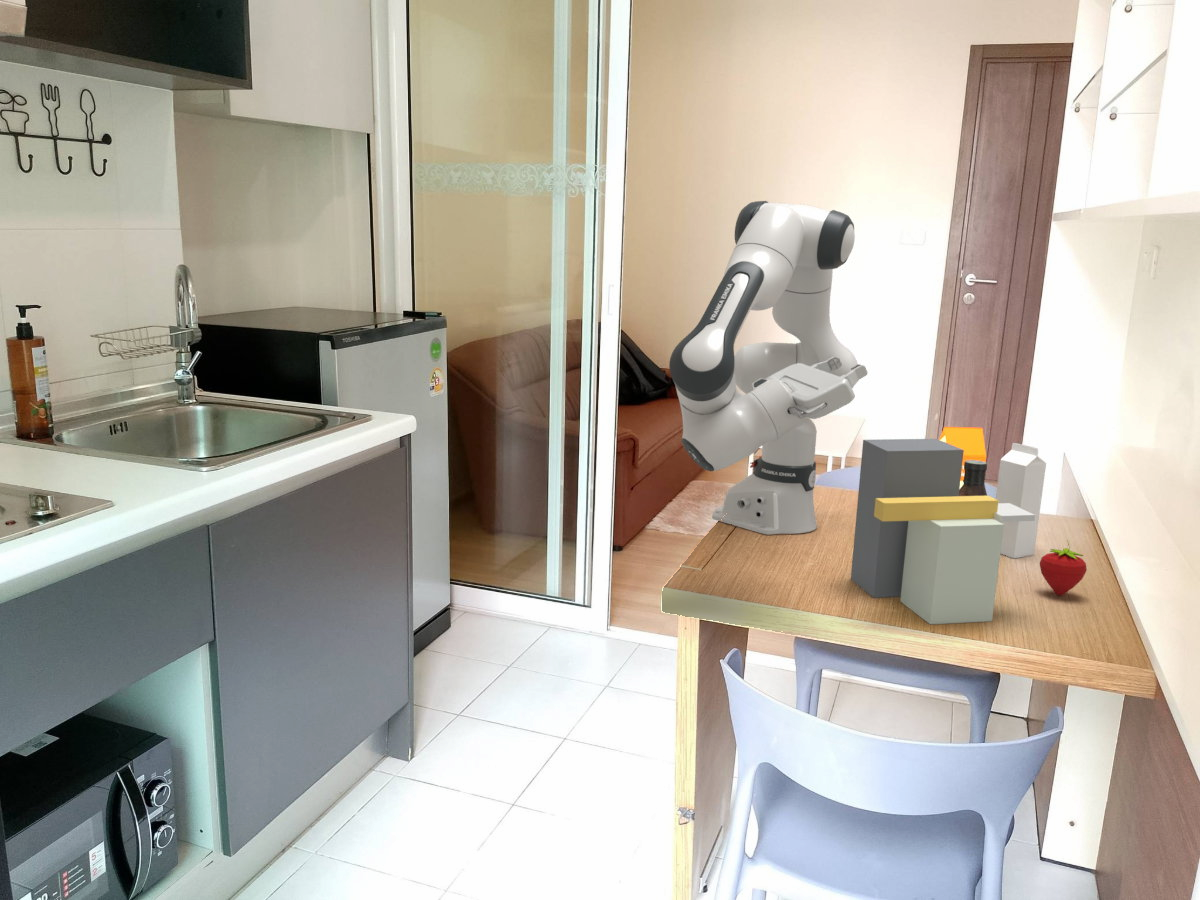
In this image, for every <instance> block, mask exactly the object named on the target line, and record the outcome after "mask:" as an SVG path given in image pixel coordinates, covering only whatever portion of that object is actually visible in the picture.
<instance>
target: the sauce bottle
mask: <svg viewBox="0 0 1200 900" xmlns="http://www.w3.org/2000/svg"><path fill="white" fill-rule="evenodd" d="M964 470H965V472H964V480H963V483H964V484H963V486H962V487H961V488H960V489H959V496H988V494H987V490H986V486H985V485H986V484H985V479H986V471H987V470H988V463H987V461H986V462H984V461H979V460H966V461H965V462H964Z"/></svg>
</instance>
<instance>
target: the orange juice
mask: <svg viewBox="0 0 1200 900" xmlns="http://www.w3.org/2000/svg"><path fill="white" fill-rule="evenodd" d="M938 440H941V441H943V442H946V443H948V444H950V445H953V446H955V447H958V448H960V449H963V450H964V454H963V463H962V472H961V480H960V488H961V487H962V486H963V484H964V483H963V480H964V472H965V470H964V462H965V461H966V460H979V461H984V462H986V463H987V454H986V453H987V452H986V446H985V444H986V443H985V437H984V429H983V427H970V426H969V427H967V426H965V427H963V426H962V427H961V426H944V427H943V430H942V432H941V435H940V437H939V439H938Z"/></svg>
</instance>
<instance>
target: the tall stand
mask: <svg viewBox="0 0 1200 900" xmlns="http://www.w3.org/2000/svg"><path fill="white" fill-rule="evenodd" d="M861 448H862V449H861V461H860V471H859V472H860V473H859V483H858V494H857V505H856V517H855V527H854V528H855V529H854V539H853V552H852V561H851V570H850V571H851V573H850V580H851V581H852V582H853V583H854V584H855V585H857V586H858V587H859V588H861V589H862V590H863V591H864V592H866V593H867V595H869V596H870V595H871V596H870V597H872V598H873V599H875V598H876V599H878V598H881V599H882V598H899V597H900V598H901V589H902V579H903V569H904V559H905V550H906V540H907V530H908V521H881V520H879V519H878V518H876V517H875V516H874V511H875V500H876V498H908V497H950V496H959V489H960V480H961V472H962V463H963V454H964V450H963V449H960V448H958V447H955V446H953V445H950V444H948V443H946V442H943V441H941V440H939V439H938V438H897V439H891V438H890V439H889V438H888V439H887V438H886V439H863V440H862V447H861Z"/></svg>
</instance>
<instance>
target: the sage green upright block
mask: <svg viewBox="0 0 1200 900" xmlns="http://www.w3.org/2000/svg"><path fill="white" fill-rule="evenodd" d="M1003 530H1004V524H1002V523H1000V522H998V521H996V520H994V519H993V518H987V519H952V520H917V521H908V530H907V540H906V550H905V559H904V569H903V579H902V589H901V597H900V599H899V600H900V601H899V602H900V603H902V604H903V605H904V606H906V607H907V608H908V609H910V610H911V611H912V612H913V613H915V614H916V615H918V616H919V617H920V618H921V619H922V620H924V621H925V622H926V623H928V624H929V625H944V624H945V625H947V624H963V623H966V624H967V623H981V622H982V623H983V622H993V618H994V617H993V615H994V608H995V602H996V600H995V599H996V593H997V592H996V591H997V586H998V585H997V584H998V576H999V568H1000V561H1001V560H1000V559H1001V555H1002V554H1001V546H1002V538H1003Z"/></svg>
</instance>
